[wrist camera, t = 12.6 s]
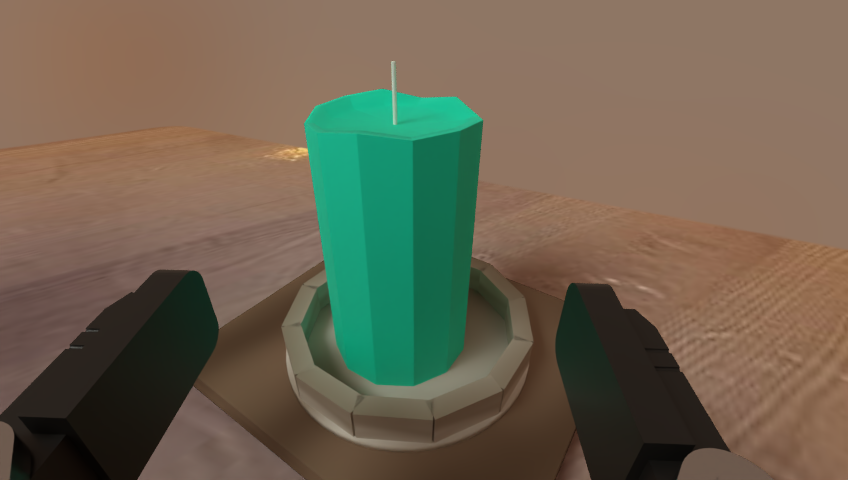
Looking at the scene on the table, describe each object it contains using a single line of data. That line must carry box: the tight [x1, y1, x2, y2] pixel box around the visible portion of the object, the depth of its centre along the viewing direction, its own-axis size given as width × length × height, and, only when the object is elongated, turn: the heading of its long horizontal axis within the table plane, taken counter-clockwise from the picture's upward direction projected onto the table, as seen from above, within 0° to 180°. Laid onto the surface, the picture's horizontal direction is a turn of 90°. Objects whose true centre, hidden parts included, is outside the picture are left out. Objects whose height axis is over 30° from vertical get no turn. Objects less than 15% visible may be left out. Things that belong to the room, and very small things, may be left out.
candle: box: [304, 61, 483, 386], centre depth 17 cm, size 6×6×12 cm
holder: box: [193, 257, 576, 480], centre depth 20 cm, size 16×14×3 cm
